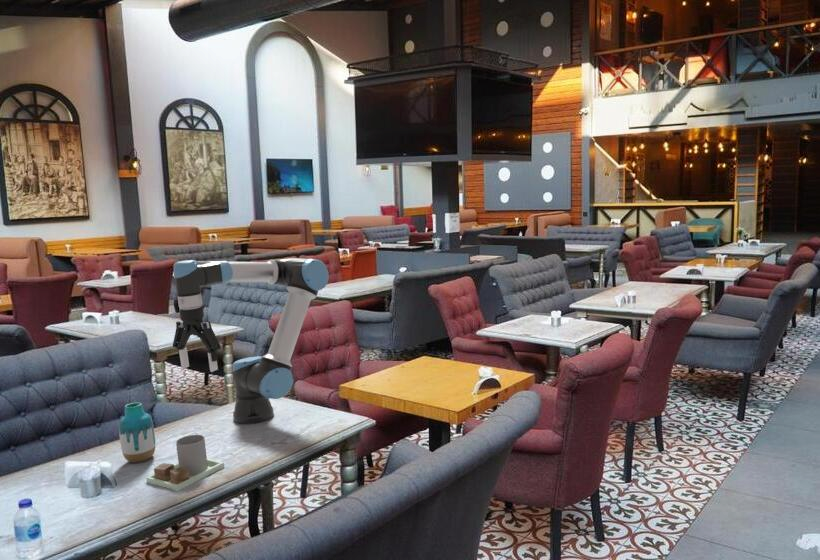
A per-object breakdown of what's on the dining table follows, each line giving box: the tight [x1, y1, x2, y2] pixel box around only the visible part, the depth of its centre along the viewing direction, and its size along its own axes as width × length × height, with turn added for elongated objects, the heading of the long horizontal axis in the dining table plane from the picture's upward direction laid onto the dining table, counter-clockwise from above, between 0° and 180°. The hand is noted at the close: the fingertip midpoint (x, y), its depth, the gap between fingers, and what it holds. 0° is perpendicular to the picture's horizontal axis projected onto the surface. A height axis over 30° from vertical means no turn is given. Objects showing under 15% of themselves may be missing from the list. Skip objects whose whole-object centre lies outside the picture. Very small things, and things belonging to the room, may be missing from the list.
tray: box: [145, 458, 225, 492], centre depth 206 cm, size 18×14×2 cm
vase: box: [118, 401, 156, 463], centre depth 220 cm, size 11×11×19 cm
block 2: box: [170, 466, 189, 485], centre depth 200 cm, size 4×4×4 cm
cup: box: [175, 434, 208, 476], centre depth 208 cm, size 8×8×10 cm
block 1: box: [153, 462, 174, 482], centre depth 203 cm, size 4×4×4 cm
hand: (199, 369), depth 224 cm, fingers open, 13 cm apart
